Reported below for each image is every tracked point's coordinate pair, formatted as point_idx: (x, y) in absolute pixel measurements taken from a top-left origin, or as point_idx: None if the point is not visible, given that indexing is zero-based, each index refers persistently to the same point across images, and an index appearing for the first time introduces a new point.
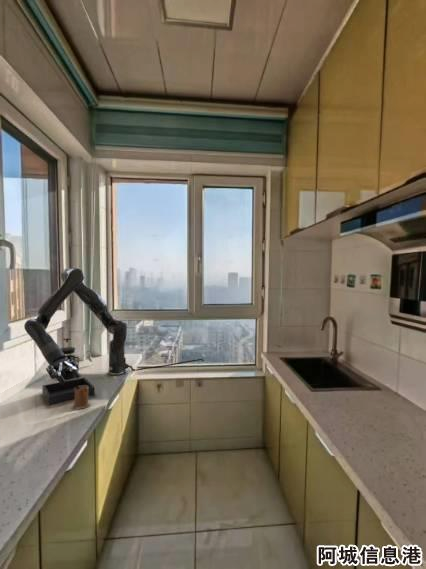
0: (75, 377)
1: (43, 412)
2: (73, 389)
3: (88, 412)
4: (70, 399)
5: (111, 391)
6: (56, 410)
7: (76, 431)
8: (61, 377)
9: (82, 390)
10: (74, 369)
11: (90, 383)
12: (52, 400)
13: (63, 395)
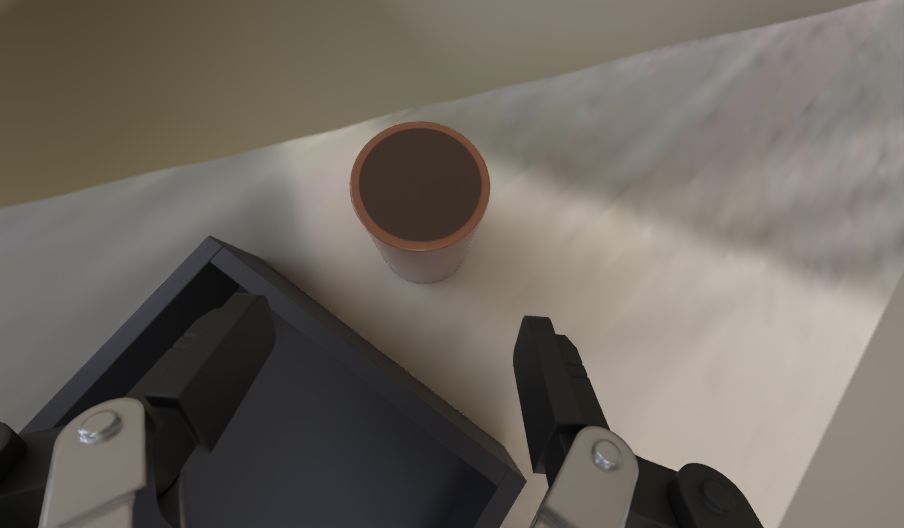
0: (264, 362)
1: None
2: None
3: None
4: (385, 359)
5: (133, 197)
6: None
7: (655, 91)
8: (571, 386)
9: (467, 143)
10: (152, 424)
11: (119, 332)
12: (494, 447)
13: (425, 399)
